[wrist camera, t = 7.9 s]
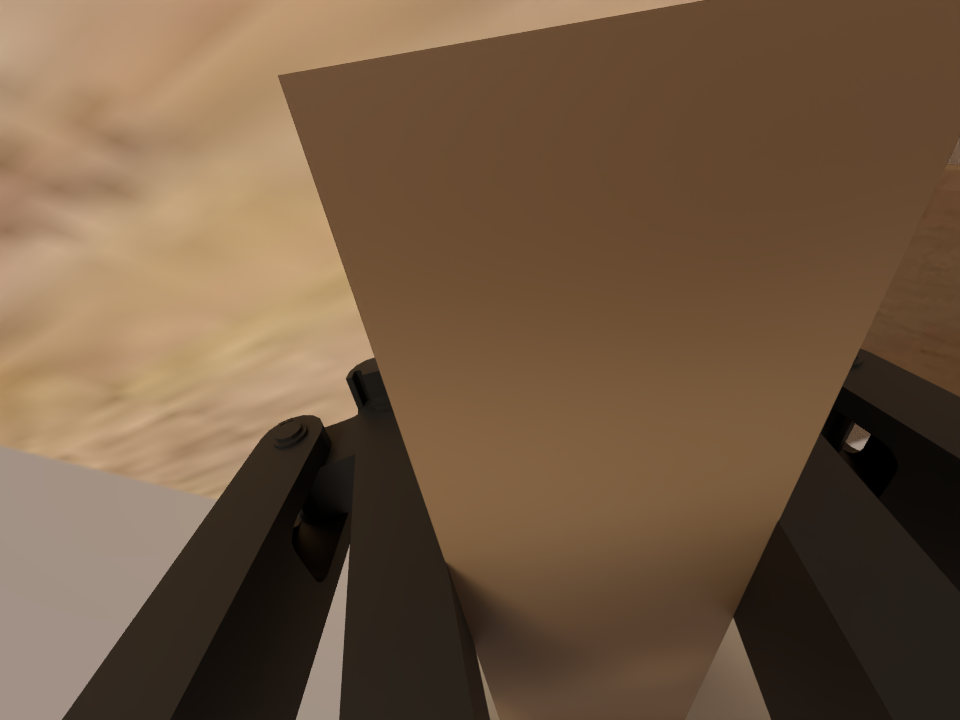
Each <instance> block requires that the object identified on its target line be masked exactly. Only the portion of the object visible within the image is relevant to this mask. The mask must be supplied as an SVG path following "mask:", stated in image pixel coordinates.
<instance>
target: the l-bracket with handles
mask: <svg viewBox="0 0 960 720" xmlns="http://www.w3.org/2000/svg"><path fill="white" fill-rule="evenodd" d="M477 658H478V656H477ZM478 663H479V668H480V673H481V678H482V682H483V687H484V692H485V697H486V702H487V707H488V711H489V716H490V720H499V717H498V714H497V711H496V708H495V705H494V702H493V699H492V696H491V693H490V690H489V688H488V685H487V682H486V679H485V676H484V673H483V670H482V667H481V664H480V661H479V659H478ZM685 720H771V718H770V715H769V713H768V710H767V707H766V705H765V702H764V699H763V696H762V694H761V691H760V688H759V686H758V683H757V680H756V678H755V675H754V672H753V669H752V667H751V664H750V661H749V659H748V656H747V653H746V651H745V648H744V645H743V643H742V640H741V637H740V634H739V632H738V629H737V626H736V624H735V621H734V618H733V619H732V621H731V623H730V625H729V627H728V629H727V632H726V634H725V636H724V638H723V640H722V642H721V644H720V646H719V649H718V651H717V653H716V655H715V657H714V659H713V661H712V663H711V666H710V668H709V670H708V672H707V674H706V676H705V678H704V680H703V682H702V685H701V687H700V689H699V691H698V693H697V695H696V697H695V699H694V702H693V704H692V706H691V708H690V710H689V712H688V714H687V716H686V719H685Z"/></svg>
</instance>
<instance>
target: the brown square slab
mask: <svg viewBox="0 0 960 720" xmlns="http://www.w3.org/2000/svg"><path fill="white" fill-rule="evenodd" d="M278 77H279V80H280V83H281V86H282V89H283V92H284V95H285V98H286V101H287V104H288V106H289V109H290V112H291V115H292V118H293V121H294V124H295V127H296V130H297V133H298V135H299V138H300V141H301V144H302V147H303V150H304V153H305V156H306V159H307V162H308V165H309V167H310V170H311V173H312V176H313V179H314V182H315V185H316V188H317V191H318V194H319V197H320V199H321V202H322V205H323V208H324V211H325V214H326V217H327V220H328V223H329V226H330V228H331V231H332V234H333V237H334V240H335V243H336V246H337V249H338V252H339V255H340V258H341V260H342V263H343V266H344V269H345V272H346V275H347V278H348V281H349V284H350V287H351V289H352V292H353V295H354V298H355V301H356V304H357V307H358V310H359V313H360V316H361V319H362V321H363V324H364V327H365V330H366V333H367V336H368V339H369V342H370V345H371V348H372V351H373V353H374V356H375V359H376V362H377V365H378V368H379V371H380V374H381V377H382V380H383V382H384V385H385V388H386V391H387V394H388V397H389V400H390V403H391V406H392V409H393V412H394V414H395V417H396V420H397V423H398V426H399V429H400V432H401V435H402V438H403V441H404V443H405V446H406V449H407V452H408V455H409V458H410V461H411V464H412V467H413V470H414V473H415V475H416V478H417V481H418V484H419V487H420V490H421V493H422V496H423V499H424V502H425V505H426V507H427V510H428V513H429V516H430V519H431V522H432V525H433V528H434V531H435V534H436V536H437V539H438V542H439V545H440V548H441V551H442V554H443V557H444V560H445V562H446V563H447V566H448V569H449V572H450V575H451V578H452V580H453V583H454V586H455V589H456V592H457V595H458V598H459V601H460V604H461V607H462V610H463V613H464V616H465V619H466V621H467V624H468V627H469V630H470V633H471V636H472V639H473V642H474V645H475V648H476V653H477V656H478V659H479V661H480V664H481V667H482V670H483V673H484V676H485V679H486V682H487V685H488V688H489V690H490V693H491V696H492V699H493V702H494V705H495V708H496V711H497V714H498V717H499V720H685V719H686V716H687V714H688V712H689V710H690V708H691V706H692V704H693V702H694V699H695V697H696V695H697V693H698V691H699V689H700V687H701V685H702V682H703V680H704V678H705V676H706V674H707V672H708V670H709V668H710V666H711V663H712V661H713V659H714V657H715V655H716V653H717V651H718V649H719V646H720V644H721V642H722V640H723V638H724V636H725V634H726V632H727V629H728V627H729V625H730V623H731V621H732V619H733V615H734V613H735V611H736V609H737V607H738V605H739V602H740V600H741V598H742V596H743V594H744V592H745V590H746V588H747V585H748V583H749V581H750V579H751V577H752V575H753V573H754V570H755V568H756V566H757V564H758V562H759V560H760V558H761V556H762V553H763V551H764V549H765V547H766V545H767V543H768V541H769V538H770V536H771V534H772V532H773V530H774V528H775V526H776V524H777V521H778V520H779V519H780V517H781V515H782V513H783V511H784V508H785V506H786V504H787V502H788V500H789V498H790V496H791V494H792V491H793V489H794V487H795V485H796V483H797V481H798V479H799V477H800V474H801V472H802V470H803V468H804V466H805V464H806V462H807V460H808V458H809V455H810V453H811V451H812V449H813V447H814V445H815V443H816V441H817V438H818V436H819V434H820V432H821V430H822V428H823V426H824V424H825V421H826V419H827V417H828V415H829V413H830V411H831V409H832V407H833V404H834V402H835V400H836V398H837V396H838V394H839V392H840V390H841V387H842V385H843V383H844V381H845V379H846V377H847V375H848V373H849V370H850V368H851V366H852V364H853V362H854V360H855V358H856V356H857V354H858V351H859V349H860V347H861V345H862V343H863V341H864V339H865V337H866V334H867V332H868V330H869V328H870V326H871V324H872V322H873V320H874V317H875V315H876V313H877V311H878V309H879V307H880V305H881V303H882V300H883V298H884V296H885V294H886V292H887V290H888V288H889V286H890V283H891V281H892V279H893V277H894V275H895V273H896V271H897V269H898V266H899V264H900V262H901V260H902V258H903V256H904V254H905V252H906V249H907V247H908V245H909V243H910V241H911V239H912V237H913V235H914V233H915V230H916V228H917V226H918V224H919V222H920V220H921V218H922V216H923V213H924V211H925V209H926V207H927V205H928V203H929V201H930V199H931V196H932V194H933V192H934V190H935V188H936V186H937V184H938V182H939V179H940V177H941V175H942V173H943V171H944V169H945V167H946V165H947V162H948V160H949V158H950V156H951V154H952V152H953V150H954V148H955V145H956V143H957V141H958V139H959V137H960V0H703V1H698V2H692V3H686V4H681V5H675V6H669V7H664V8H658V9H652V10H647V11H641V12H635V13H630V14H624V15H618V16H613V17H607V18H601V19H596V20H590V21H584V22H579V23H573V24H567V25H562V26H556V27H550V28H545V29H539V30H533V31H528V32H522V33H516V34H511V35H505V36H499V37H494V38H488V39H482V40H477V41H471V42H465V43H460V44H454V45H448V46H443V47H437V48H431V49H426V50H420V51H414V52H409V53H403V54H397V55H392V56H386V57H380V58H375V59H369V60H363V61H358V62H352V63H346V64H340V65H335V66H329V67H323V68H318V69H312V70H306V71H301V72H295V73H289V74H284V75H278Z"/></svg>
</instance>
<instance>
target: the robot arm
mask: <svg viewBox="0 0 960 720" xmlns="http://www.w3.org/2000/svg"><path fill="white" fill-rule="evenodd" d="M346 380H347V383H348V385H349V388H350V390H351V393H352V395H353V397H354V400H355V402H356V405H357V407H358V415H356V416H355V417H352V418H350V419H348V420H345V421H342V422H339V423H337V424H334V425H331V426H328V427H325V428H324V426H323V424H322V422H321V420H320V418H318V417H315V416H313V415H303V416H298V417H294V418H290V419H288V420H286V421H283V422H281V423H279V424H278V425H277V426H275V427H274V428H272V429H271V430H269V431H268V432H267V433H266V434H265V436H264V437H263V438H262V439H261V440H260V441H259V443H258V444H257V446H256V447H255V448H254V450H253V451H252V453H251V454H250V455H249V457H248V458H247V460H246V461H245V463H244V464H243V465H242V467H241V468H240V470H239V471H238V472H237V474H236V475H235V477H234V478H233V479H232V481H231V482H230V484H229V485H228V486H227V488H226V489H225V491H224V492H223V494H222V495H221V496H220V498H219V499H218V501H217V502H216V503H215V505H214V506H213V508H212V509H211V510H210V512H209V513H208V515H207V516H206V518H205V519H204V520H203V522H202V523H201V525H200V526H199V527H198V529H197V530H196V532H195V533H194V535H193V536H192V537H191V539H190V540H189V541H188V543H187V544H186V546H185V547H184V549H183V550H182V551H181V553H180V554H179V556H178V557H177V558H176V560H175V561H174V563H173V564H172V566H171V567H170V568H169V570H168V571H167V572H166V574H165V575H164V577H163V578H162V580H161V581H160V582H159V584H158V585H157V587H156V588H155V590H154V591H153V592H152V594H151V595H150V596H149V598H148V599H147V601H146V602H145V603H144V605H143V606H142V608H141V609H140V611H139V612H138V614H137V615H136V617H135V618H134V619H133V620H132V622H131V623H130V625H129V626H128V627H127V629H126V630H125V632H124V633H123V634H122V636H121V637H120V639H119V640H118V642H117V643H116V644H115V646H114V647H113V649H112V650H111V651H110V653H109V654H108V656H107V657H106V659H105V660H104V661H103V663H102V664H101V666H100V667H99V668H98V670H97V671H96V673H95V674H94V676H93V677H92V678H91V680H90V681H89V682H88V684H87V685H86V687H85V688H84V690H83V691H82V692H81V694H80V695H79V697H78V698H77V699H76V701H75V702H74V704H73V705H72V707H71V708H70V709H69V711H68V712H67V713H66V715H65V716H64V718H63V719H62V720H296V716H297V714H298V710H299V707H300V704H301V701H302V697H303V694H304V691H305V687H306V684H307V681H308V678H309V675H310V671H311V668H312V665H313V662H314V658H315V655H316V652H317V649H318V645H319V642H320V639H321V636H322V632H323V628H324V626H325V623H326V619H327V616H328V613H329V610H330V606H331V603H332V600H333V596H334V593H335V590H336V587H337V584H338V580H339V577H340V574H341V570H342V567H343V564H344V561H345V558H346V554H347V551H348V548H349V545H350V553H349V570H348V586H347V603H346V618H345V635H344V652H343V668H342V684H341V701H340V717H339V720H490V716H489V711H488V707H487V702H486V697H485V692H484V687H483V682H482V678H481V673H480V668H479V663H478V658H477V653H476V648H475V645H474V642H473V639H472V636H471V633H470V630H469V627H468V624H467V621H466V619H465V616H464V613H463V610H462V607H461V604H460V601H459V598H458V595H457V592H456V589H455V586H454V583H453V580H452V578H451V575H450V572H449V569H448V566H447V563H446V562H445V560H444V557H443V554H442V551H441V548H440V545H439V542H438V539H437V536H436V534H435V531H434V528H433V525H432V522H431V519H430V516H429V513H428V510H427V507H426V505H425V502H424V499H423V496H422V493H421V490H420V487H419V484H418V481H417V478H416V475H415V473H414V470H413V467H412V464H411V461H410V458H409V455H408V452H407V449H406V446H405V443H404V441H403V438H402V435H401V432H400V429H399V426H398V423H397V420H396V417H395V414H394V412H393V409H392V406H391V403H390V400H389V397H388V394H387V391H386V388H385V385H384V382H383V380H382V377H381V374H380V371H379V368H378V365H377V362H376V359H375V358H372V359H369V360H366V361H364V362H362V363H360V364H359V365H357V366H355V367H354V368H353V369H352V370H351V371H350V372H349V374H348V376H347V378H346ZM855 423H856V424H857V425H859V426H860V427H862V428H863V429H865V430H866V431H867V432H869V433H870V434H871V436H870V437H869V439H868V441H867V443H866V444H865V446H864V448H863V449H862V450H861V451H859V450H856V449H854V448H853V447H851V446H850V445H848V444H847V443H846V440H847V438H848V436H849V434H850V432H851V430H852V428H853V426H854V425H855ZM733 618H734V621H735V624H736V626H737V629H738V632H739V634H740V637H741V640H742V643H743V645H744V648H745V651H746V653H747V656H748V659H749V661H750V664H751V667H752V669H753V672H754V675H755V678H756V680H757V683H758V686H759V688H760V691H761V694H762V696H763V699H764V702H765V705H766V707H767V710H768V713H769V715H770V718H771V720H960V397H959V396H957V395H955V394H953V393H951V392H949V391H947V390H945V389H943V388H941V387H939V386H937V385H935V384H933V383H931V382H929V381H927V380H925V379H923V378H921V377H919V376H917V375H915V374H913V373H911V372H909V371H907V370H905V369H903V368H901V367H899V366H897V365H895V364H893V363H891V362H889V361H887V360H885V359H883V358H881V357H879V356H877V355H875V354H873V353H871V352H868V351H866V350H863V349H859V351H858V354H857V356H856V358H855V360H854V362H853V364H852V366H851V368H850V370H849V373H848V375H847V377H846V379H845V381H844V383H843V385H842V387H841V390H840V392H839V394H838V396H837V398H836V400H835V402H834V404H833V407H832V409H831V411H830V413H829V415H828V417H827V419H826V421H825V424H824V426H823V428H822V430H821V432H820V434H819V436H818V438H817V441H816V443H815V445H814V447H813V449H812V451H811V453H810V455H809V458H808V460H807V462H806V464H805V466H804V468H803V470H802V472H801V474H800V477H799V479H798V481H797V483H796V485H795V487H794V489H793V491H792V494H791V496H790V498H789V500H788V502H787V504H786V506H785V508H784V511H783V513H782V515H781V517H780V519H779V520H778V521H777V524H776V526H775V528H774V530H773V532H772V534H771V536H770V538H769V541H768V543H767V545H766V547H765V549H764V551H763V553H762V556H761V558H760V560H759V562H758V564H757V566H756V568H755V570H754V573H753V575H752V577H751V579H750V581H749V583H748V585H747V588H746V590H745V592H744V594H743V596H742V598H741V600H740V602H739V605H738V607H737V609H736V611H735V613H734V615H733Z"/></svg>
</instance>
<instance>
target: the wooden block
mask: <svg viewBox="0 0 960 720" xmlns="http://www.w3.org/2000/svg"><path fill="white" fill-rule="evenodd" d="M860 349H863V350H866V351H868V352H871V353H873V354H875V355H877V356H879V357H881V358H883V359H885V360H887V361H889V362H891V363H893V364H895V365H897V366H899V367H901V368H903V369H905V370H907V371H909V372H911V373H913V374H915V375H917V376H919V377H921V378H923V379H925V380H927V381H929V382H931V383H933V384H935V385H937V386H939V387H941V388H943V389H945V390H947V391H949V392H951V393H953V394H955V395H957V396H959V397H960V165H954V164H947V165H946V167H945V169H944V171H943V173H942V175H941V177H940V179H939V182H938V184H937V186H936V188H935V190H934V192H933V194H932V196H931V199H930V201H929V203H928V205H927V207H926V209H925V211H924V213H923V216H922V218H921V220H920V222H919V224H918V226H917V228H916V230H915V233H914V235H913V237H912V239H911V241H910V243H909V245H908V247H907V249H906V252H905V254H904V256H903V258H902V260H901V262H900V264H899V266H898V269H897V271H896V273H895V275H894V277H893V279H892V281H891V283H890V286H889V288H888V290H887V292H886V294H885V296H884V298H883V300H882V303H881V305H880V307H879V309H878V311H877V313H876V315H875V317H874V320H873V322H872V324H871V326H870V328H869V330H868V332H867V334H866V337H865V339H864V341H863V343H862V345H861V347H860Z"/></svg>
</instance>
